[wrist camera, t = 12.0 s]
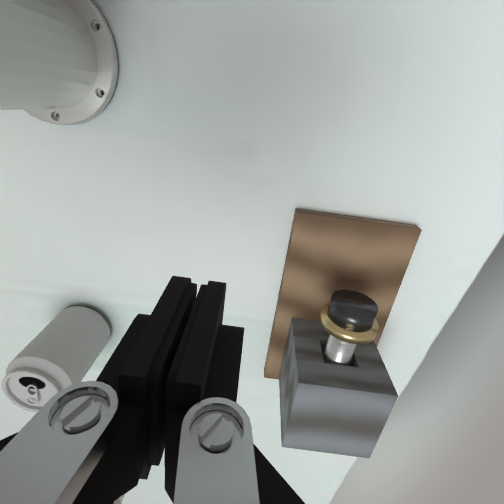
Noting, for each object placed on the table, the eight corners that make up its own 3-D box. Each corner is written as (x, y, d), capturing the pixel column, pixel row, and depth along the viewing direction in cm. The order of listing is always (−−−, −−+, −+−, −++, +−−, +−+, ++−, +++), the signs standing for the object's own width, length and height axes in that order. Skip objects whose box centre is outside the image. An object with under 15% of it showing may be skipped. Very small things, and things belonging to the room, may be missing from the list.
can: (112, 306, 44) (59, 374, 33) (114, 348, 47) (67, 422, 36) (57, 298, 43) (-13, 363, 33) (63, 341, 47) (1, 413, 36)
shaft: (321, 283, 36) (331, 315, 30) (374, 290, 36) (393, 324, 30) (291, 400, 44) (294, 442, 39) (334, 406, 44) (343, 448, 39)
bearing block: (295, 208, 36) (307, 253, 26) (415, 225, 37) (478, 277, 26) (264, 369, 47) (262, 450, 36) (357, 381, 47) (384, 465, 36)
